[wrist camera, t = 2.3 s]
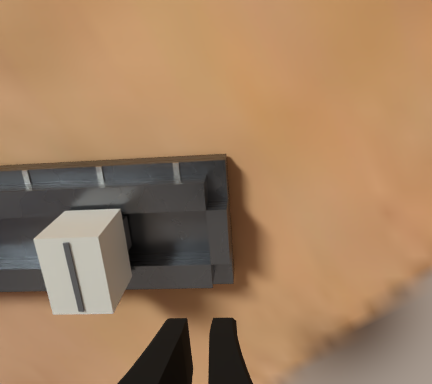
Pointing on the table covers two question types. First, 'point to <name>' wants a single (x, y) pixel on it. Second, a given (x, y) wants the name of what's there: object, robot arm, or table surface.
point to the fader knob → (85, 260)
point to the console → (136, 215)
